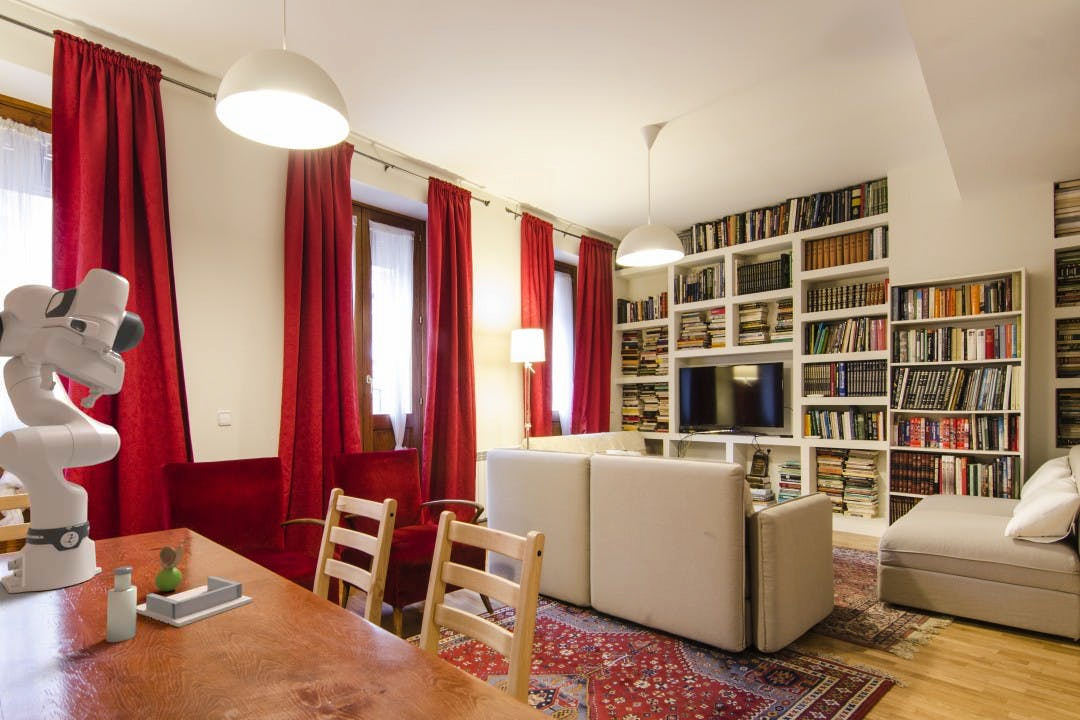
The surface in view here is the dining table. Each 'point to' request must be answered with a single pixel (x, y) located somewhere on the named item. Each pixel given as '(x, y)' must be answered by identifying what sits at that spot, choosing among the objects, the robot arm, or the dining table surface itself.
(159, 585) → the snail figurine
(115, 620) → the pale green bottle
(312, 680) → the dining table surface
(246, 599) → the u stand
